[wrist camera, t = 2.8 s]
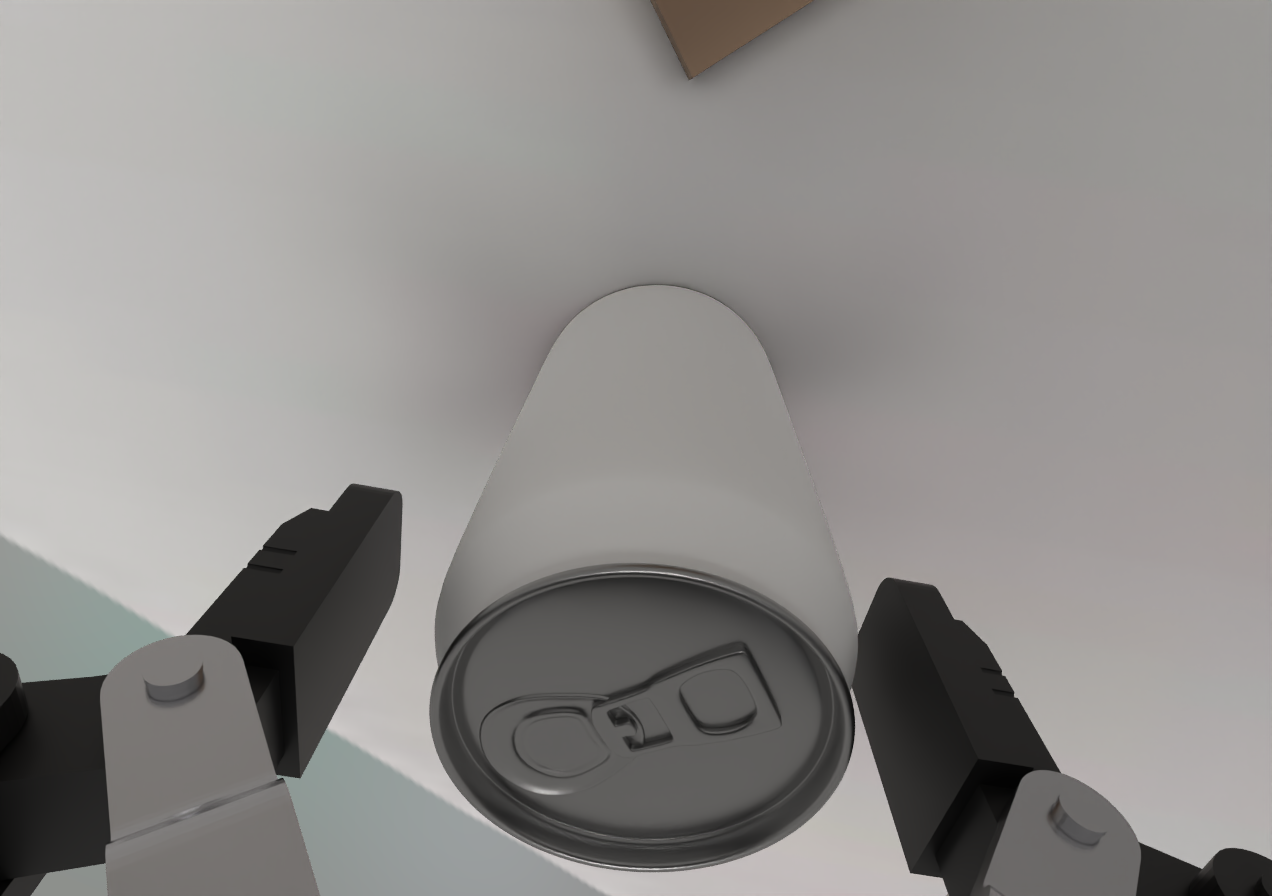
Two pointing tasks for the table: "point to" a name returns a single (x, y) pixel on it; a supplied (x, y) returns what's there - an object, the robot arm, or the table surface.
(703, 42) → the tray
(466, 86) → the table surface
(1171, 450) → the table surface
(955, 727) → the robot arm
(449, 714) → the can
